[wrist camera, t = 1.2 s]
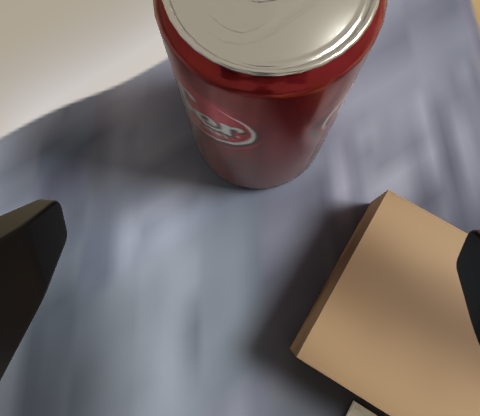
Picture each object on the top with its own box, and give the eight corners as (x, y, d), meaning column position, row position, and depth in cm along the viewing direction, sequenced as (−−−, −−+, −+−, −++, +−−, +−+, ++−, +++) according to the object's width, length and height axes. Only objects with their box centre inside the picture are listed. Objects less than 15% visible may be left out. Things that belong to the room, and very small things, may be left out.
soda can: (211, 205, 23) (176, 113, 11) (183, 89, 24) (125, -100, 13) (336, 174, 23) (430, 52, 11) (301, 61, 25) (351, -149, 13)
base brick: (448, 447, 20) (482, 473, 17) (289, 348, 21) (296, 357, 18) (521, 288, 22) (564, 287, 19) (369, 203, 23) (388, 189, 20)
